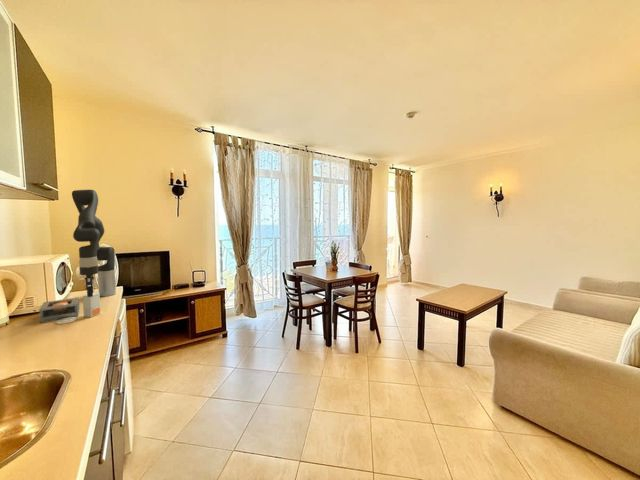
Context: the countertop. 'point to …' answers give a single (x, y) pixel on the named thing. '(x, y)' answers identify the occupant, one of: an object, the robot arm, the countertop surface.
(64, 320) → the coaster
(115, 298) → the countertop surface
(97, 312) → the skincare box
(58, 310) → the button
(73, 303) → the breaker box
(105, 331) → the countertop surface
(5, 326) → the countertop surface
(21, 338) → the countertop surface
